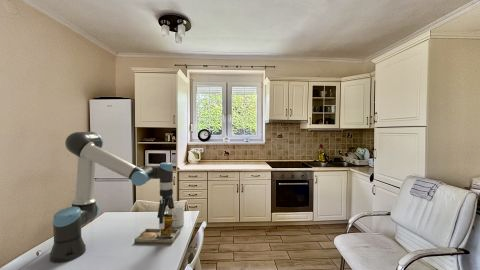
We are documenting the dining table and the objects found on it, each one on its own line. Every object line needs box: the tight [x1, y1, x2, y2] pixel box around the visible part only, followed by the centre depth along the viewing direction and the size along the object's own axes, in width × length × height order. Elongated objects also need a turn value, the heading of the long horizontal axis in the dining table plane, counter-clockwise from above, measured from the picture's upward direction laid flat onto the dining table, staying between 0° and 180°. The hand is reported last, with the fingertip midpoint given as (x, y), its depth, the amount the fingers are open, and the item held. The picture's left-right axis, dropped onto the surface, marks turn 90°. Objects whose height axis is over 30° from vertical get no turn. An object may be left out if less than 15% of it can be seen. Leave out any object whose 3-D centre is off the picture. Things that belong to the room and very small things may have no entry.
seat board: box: [134, 228, 181, 245], centre depth 138 cm, size 14×22×2 cm, turn 87°
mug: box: [165, 206, 185, 229], centre depth 156 cm, size 12×9×11 cm
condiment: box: [159, 213, 173, 237], centre depth 137 cm, size 7×8×12 cm
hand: (166, 223), depth 137 cm, fingers open, 13 cm apart
